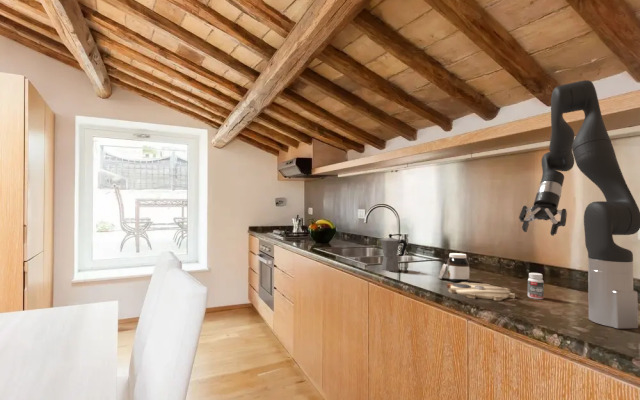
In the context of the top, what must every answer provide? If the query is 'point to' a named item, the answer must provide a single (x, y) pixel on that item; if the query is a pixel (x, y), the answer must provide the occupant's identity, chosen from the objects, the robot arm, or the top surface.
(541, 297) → the pill bottle
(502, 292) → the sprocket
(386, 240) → the coffeepot
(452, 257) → the spread jar
